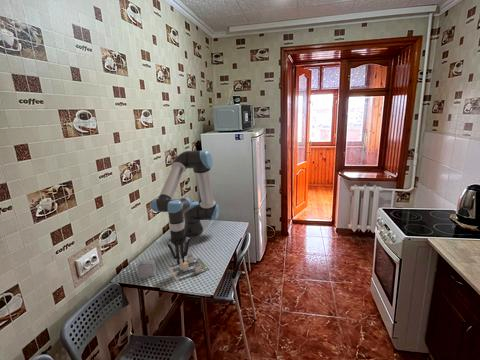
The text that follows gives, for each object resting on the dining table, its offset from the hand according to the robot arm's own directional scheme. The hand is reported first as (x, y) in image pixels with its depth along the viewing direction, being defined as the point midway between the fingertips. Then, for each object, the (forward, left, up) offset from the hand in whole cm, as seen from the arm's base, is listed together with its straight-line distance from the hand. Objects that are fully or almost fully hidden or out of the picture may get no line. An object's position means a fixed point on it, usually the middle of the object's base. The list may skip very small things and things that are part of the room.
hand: (181, 268), depth 144 cm
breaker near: (+6, +7, -2) cm, 10 cm away
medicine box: (-8, -17, -3) cm, 19 cm away
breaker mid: (0, +2, -2) cm, 3 cm away
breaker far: (-6, +7, -2) cm, 10 cm away
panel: (0, +5, -3) cm, 6 cm away
